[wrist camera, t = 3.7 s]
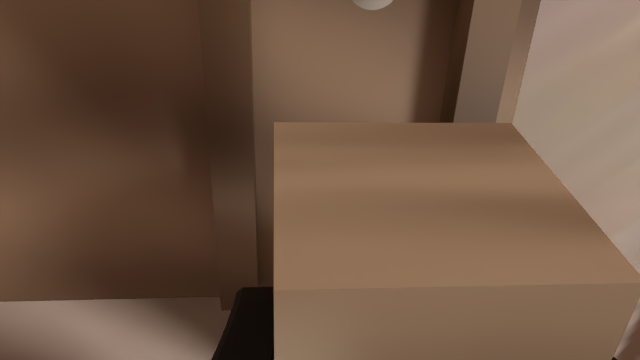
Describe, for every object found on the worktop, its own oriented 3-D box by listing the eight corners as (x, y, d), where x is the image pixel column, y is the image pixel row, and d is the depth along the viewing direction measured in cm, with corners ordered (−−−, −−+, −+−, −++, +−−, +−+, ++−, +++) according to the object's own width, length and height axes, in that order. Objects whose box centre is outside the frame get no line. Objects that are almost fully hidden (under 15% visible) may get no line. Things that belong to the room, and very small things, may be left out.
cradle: (465, 272, 21) (496, 343, 18) (-91, 284, 19) (-157, 363, 16) (540, -73, 15) (607, -52, 12) (-263, -97, 13) (-418, -80, 10)
